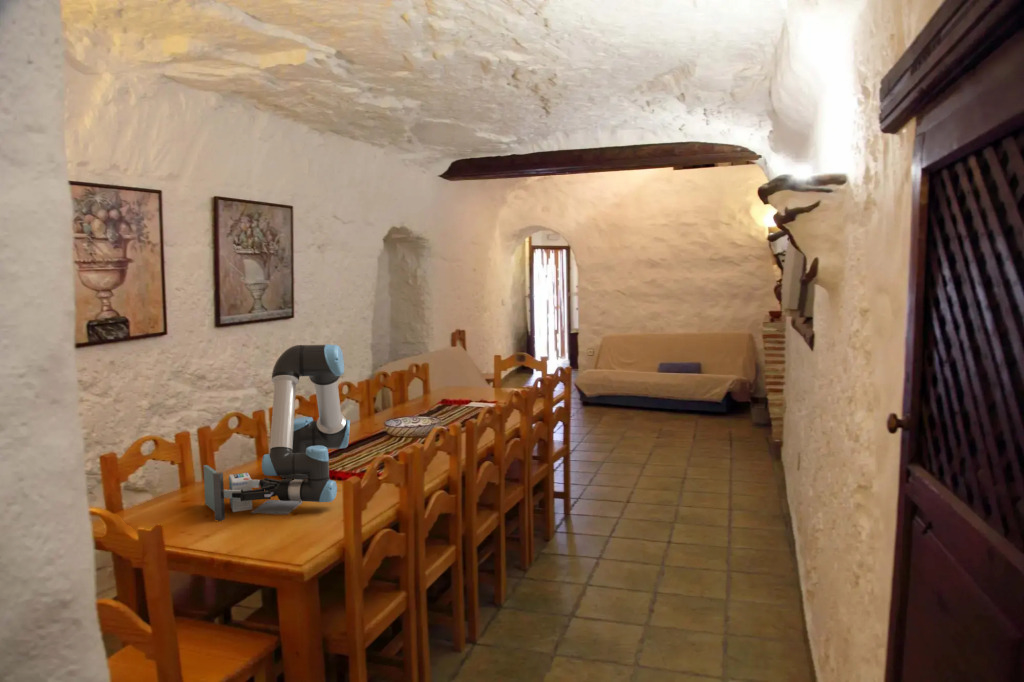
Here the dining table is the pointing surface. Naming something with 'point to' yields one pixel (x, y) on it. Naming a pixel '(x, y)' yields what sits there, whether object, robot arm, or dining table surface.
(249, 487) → the light bulb box
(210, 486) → the gate
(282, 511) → the rubber mat
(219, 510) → the gate post
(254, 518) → the dining table surface
